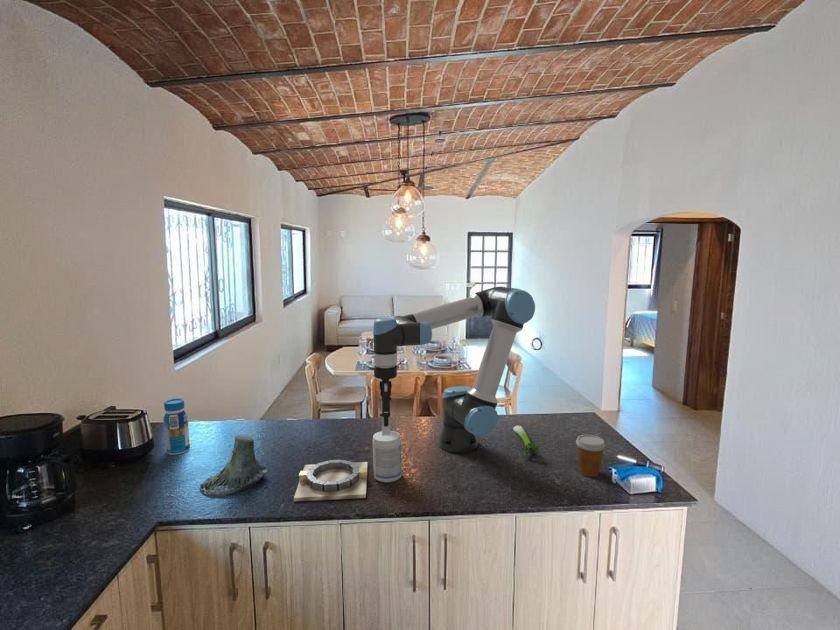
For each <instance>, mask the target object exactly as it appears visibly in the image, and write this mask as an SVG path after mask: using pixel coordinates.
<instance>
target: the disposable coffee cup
mask: <svg viewBox="0 0 840 630" xmlns="http://www.w3.org/2000/svg"><path fill="white" fill-rule="evenodd" d="M575 444H576V447H577V458H578V459H577V461H578V471H579V474H580V475H582V476H584V477H588V478H596V477H599V475H600V474H599V473H600V469H601V463H602V459H603V454H604V449H605V448H606V443H605V441H604V439H603V438H601V436H597V435H592V434H582V435H578V436H577V438H576V440H575Z"/></svg>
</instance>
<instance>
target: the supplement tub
mask: <svg viewBox="0 0 840 630" xmlns="http://www.w3.org/2000/svg"><path fill="white" fill-rule="evenodd" d="M372 462H373V463H372V464H373V465H372V466H373V467H372V468H373V477H374V479H375V480H377V481H379V482H380V483H393V482H396V481H398V480H400V479H401V477H402V475H403V471H402V468H403V467H402V438H401V434H400V433H399V432H397V431H396V430H395V431H394V430H390V435H384V436H382V430H381V431H378V432H375V433H374V434H373V436H372Z"/></svg>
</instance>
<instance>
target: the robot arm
mask: <svg viewBox="0 0 840 630" xmlns="http://www.w3.org/2000/svg"><path fill="white" fill-rule="evenodd" d="M535 312H536V303H535V300H534V298H533V296H532V295H531V294H530V293H529V292H528V291H526V290H523V289H521V288H512V287H507V286H493V287H492V288H491V287H490V288H487V289H484V290H481V291H478V292H473V293H472V294H471V295H470V296H468V297H465V298H463V299H459V300H455V301H452V302H448V303H444V304H441V305H438V306H435V307H431V308H428V309H423V310H420V311H417V312H414V313H410V314H406V315H403V316H401V315H395V316H391V317H379V318H375V319H374V321H373V330H372V332H373V333H372V335H373V355H372V356H371V358H372V359H373V364H374V366H373V376H374V378H376V379H377V380H380V381H379V389H380V394H379V395H380V397H381V413H379V417H380V418H381V431H382V436H384V435H390V431H391V401H392V397H391V396H392V388H393V387H392V386H393V384H392V380H390V379H395V378H396V377H397V376H398V366H397V365H398V347H408V346H409V347H410V346H422V345H427V344H430V343H431V341H432V339H433V329H438V328H441V327H444V326H447V325H451V324H454V323H457V322H461V321H464V320H468V319H472V318H475V317H476V318H478V319H481V318H485V317H491V318H490V321H491V323H492V329H491V332H490V335H489V339H488V340H487V341H488V342H487V344H486V347H485V350H484V353H483V356H482V359H481V362H480V365H479V367H478V371H477V374H476V377H475V380H474V382H473V386H472V387H470V386H463V385H460V386H459V385H458V386H451V387H448V388H445V389H444V391H443V394H442V395H443V396H442V399H443V400H442V407H443V408H442V410H443V411H442V412H443V413H442V414H443V415H442V416H443V417H442V418H443V421H442V422H443V423H442V428H441V431H440V434H439V438H438V445H439V447H440V448H441V449H442V450H444V451H447V452H451V453H469V452H472V451H474V450H475V449H477V448H478V437H484V436H487V435H488V434H490V433H492V432H493V431H494V430H495V429H496V427H497V425H498V424H499V415H498V411H497V409H496V408H497V405H498V402H499V401H498V399H497V397H496V396H497V393H498V389H499V386H500V383H501V379H502V377H503V374H504V371H505V368H506V365H507V362H508V359H509V356H510V353H511V351H512V347H513V344H514V341H515V338H516V335H517V333H519V332H521V331H522V330H523V328H524V325H525V324H526V323H529V321H531V320H532V319H533V317H534V315H535Z"/></svg>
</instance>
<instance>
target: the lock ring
mask: <svg viewBox="0 0 840 630" xmlns="http://www.w3.org/2000/svg"><path fill="white" fill-rule="evenodd" d="M355 463H356V462H353V461H349V460H345V459H330V460H326V461H322V462H317V463H315V464H316V465H314V466H313V467H311V468H310V469H309V470H308V471H303V470H300V472H299V474H298V477H299V478H298V480H299V481H298V483H299V482H307V484H308V485H309V487H310V488H311V489H313V490H317V491H321V492H323V491H324V492H337V490H338V491H341V490H344V489H347V488H350V486H351V487H352V486H353V485H354V484H356V483H357V482H358V480H361V479H366V475H367V476H368V472H367V473H366V468H359V467H358V466H357V465H356V464H355ZM332 469H342V470H346V471H349V472H350V473H352V474H351V475H350V476H348V477H347V478H345V479H341V480H338V481H322V480H318V479H316V478H315V476H316V475H318V474H319V473H321V472H324V471H327V470H332Z"/></svg>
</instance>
